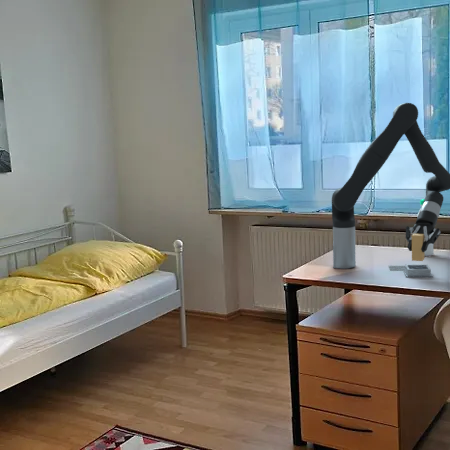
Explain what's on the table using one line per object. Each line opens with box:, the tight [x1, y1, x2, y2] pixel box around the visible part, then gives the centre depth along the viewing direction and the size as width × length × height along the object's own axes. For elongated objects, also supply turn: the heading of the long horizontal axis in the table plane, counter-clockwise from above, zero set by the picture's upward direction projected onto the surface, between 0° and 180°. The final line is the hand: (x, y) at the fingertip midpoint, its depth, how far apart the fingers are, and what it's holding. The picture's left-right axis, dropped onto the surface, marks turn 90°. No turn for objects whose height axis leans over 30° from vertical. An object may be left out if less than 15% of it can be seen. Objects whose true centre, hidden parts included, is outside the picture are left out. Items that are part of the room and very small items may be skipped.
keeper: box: [402, 264, 434, 278], centre depth 252 cm, size 10×10×3 cm
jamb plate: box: [388, 265, 405, 272], centre depth 263 cm, size 12×9×1 cm
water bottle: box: [417, 198, 435, 257], centre depth 288 cm, size 7×7×25 cm
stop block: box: [411, 233, 426, 262], centre depth 250 cm, size 4×4×10 cm
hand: (416, 250), depth 249 cm, fingers closed on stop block, 4 cm apart
